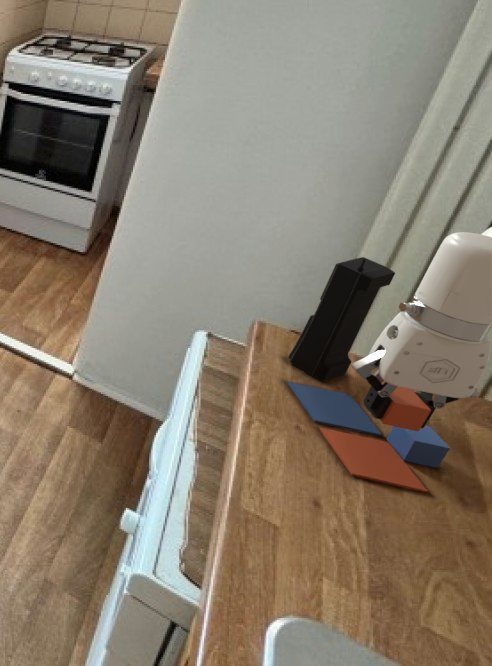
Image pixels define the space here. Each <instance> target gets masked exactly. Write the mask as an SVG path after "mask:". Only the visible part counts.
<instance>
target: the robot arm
mask: <svg viewBox="0 0 492 666" xmlns="http://www.w3.org/2000/svg"><path fill="white" fill-rule="evenodd" d="M410 299H411V300H410V302H400V303H399V305H398V309H399V312H398V313H397V314H396V315H395V316H394V317H393V319H392V320H391V321H390V322H388V324H387V325H386V326H385V328H383V330H382V332H381V333H380V334H379V336H378V337H377V339H376V340H375V342H374V343H373V345H372V347H371V348H370V351H369V353H368V355H367V356H365V357H362V358H360V359H359V360H356V361H355V362H352V363H351V364H350V366H351V367H352V369H353V370H354V371H355V372H356V373H357V374H358V375H359V376H360V377H361V378H363V379H364V380H365V381H367V383H368V385H370V387H369V390H368V391H367V393H366V395H365V397H364V399H363V406H364V407H365V408H366V410H367V411H368V412H369V413H370V414H371V416H372V417H373V418H374V419H375V420H376V419H377V420H380V419H381V418H382V417H383V415H384V414H385V412H386V410H387V408H388V406H389V405H390V403H391V399H390V398H389V397H388V396H389V395H390V394H391V393H392V392H393V391H394V390H395V389H396V388H397V387H402V388H407V389H412V390H413V391H414V392H415V394H416V395H417V396H418V397H419V398H420V399H421V400H422V401H423V402H424V403H425V404H426V405H427V406H428V407H429V408H430V409H431V412H430V413H429V415H428V417H427V418H426V420H425V422H424V423H423V425H422V427H421V428H424V427H425V426H427V423H428V421H429V420H430V419H431V417H432V416H433V414H434V412H435V410H436V409H438V410H439V409H443V408H444V407H445V406H446V404H449V403H452V402H455V401H459V400H460V399H467V398H471V397H477V396H479V394H480V393H479V390H478V388H477V387H478V385H479V384H480V381H481V379H482V378H483V375H484V373H485V370H486V368H487V366H488V363H489V359H490V355H491V352H492V351H491V350H492V349H491V348H492V338H491V337H490V336H488V335H489V333H490V331H491V329H492V226H491V227H489V228H487V229H486V230H484V231H483V232H482V233H476V232H467V231H460V232H453V233H450V234H449V235H447V236H446V237H445V238H444V239H443V240H442V242H441V244H440V245H439V247H438V249H437V251H436V253H435V254H434V256H433V259H432V260H431V262H430V264H429V266H428V268H427V270H426V272H425V274H424V276H423V278H422V280H421V281H420V284H419V285H418V287H417V289H416V291H415V293H414V294H413V296H412V298H410ZM377 368H378V369H377ZM375 369H377V370H375ZM373 370H375V372H372V371H373ZM382 384H383V385H382Z"/></svg>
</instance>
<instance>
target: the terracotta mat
mask: <svg viewBox="0 0 492 666" xmlns="http://www.w3.org/2000/svg"><path fill="white" fill-rule="evenodd" d="M319 431H320V432H321V434H322V435H323V437H324V438H325V440H326V441H327V443H328V444H329V445H330V447H331V448H332V449H333V451H334V452H335V454H336V455H337V456H338V458H339V460H340V461H341V462H342V464H343V465H344V466H345V468H346V470H347V471H348V473H349V474H350V475H351V476H353V477H357V478H361V479H365V480H370V481H374V482H378V483H382V484H387V485H391V486H396V487H398V488H399V487H401V488H404V489H409V490H413V491H418V492H422V493H426V494H427V493H428V492H429V490H428V489H427V488H426V486H425V485H424V484H423V483H422V482H421V481H420V480H419V478H418V477H417V475H416V474H415V473H414V472H413V471H412V469H411V468H410V467H409V466H408V464H407V463H406V461H404V460H403V459H402V458H401V457H400V455H399V454H398V453H397V452H396V450H395V449H394V448H393V447H392V445H391V444H390V443H389V442H388V441H385V440H380V439H375V438H370V437H366V436H361V435H357V434H352V433H348V432H344V431H339V430H334V429H330V428H325V427H319Z"/></svg>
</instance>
